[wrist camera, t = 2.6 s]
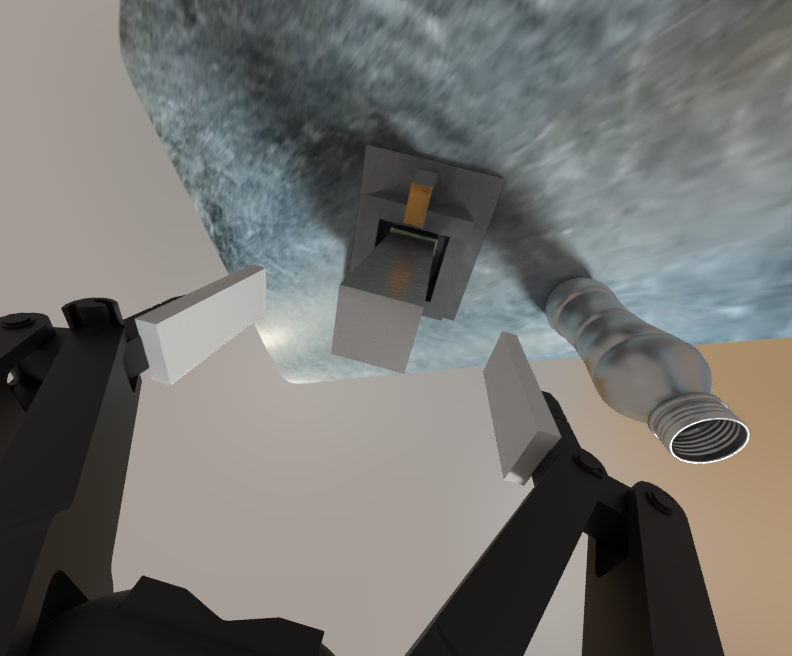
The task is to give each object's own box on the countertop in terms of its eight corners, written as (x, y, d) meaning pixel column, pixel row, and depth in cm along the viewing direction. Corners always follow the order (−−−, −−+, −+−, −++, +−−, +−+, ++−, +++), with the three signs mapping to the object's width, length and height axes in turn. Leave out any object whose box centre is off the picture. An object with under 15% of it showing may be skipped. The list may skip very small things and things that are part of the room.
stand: (369, 145, 28) (323, 129, 18) (504, 178, 28) (536, 182, 18) (349, 288, 37) (309, 334, 26) (453, 316, 36) (455, 375, 26)
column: (400, 218, 30) (336, 280, 13) (439, 228, 30) (428, 305, 13) (391, 260, 32) (327, 360, 15) (428, 269, 32) (404, 381, 15)
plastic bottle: (534, 323, 35) (620, 473, 17) (547, 270, 32) (668, 388, 14) (591, 326, 34) (741, 488, 17) (611, 271, 31) (823, 401, 13)
